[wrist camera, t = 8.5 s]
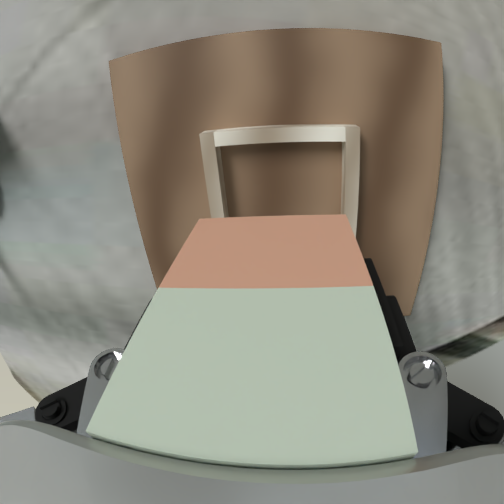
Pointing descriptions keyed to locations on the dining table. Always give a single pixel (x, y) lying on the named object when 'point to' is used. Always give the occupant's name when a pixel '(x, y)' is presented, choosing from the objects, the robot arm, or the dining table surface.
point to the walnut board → (286, 138)
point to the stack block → (262, 354)
